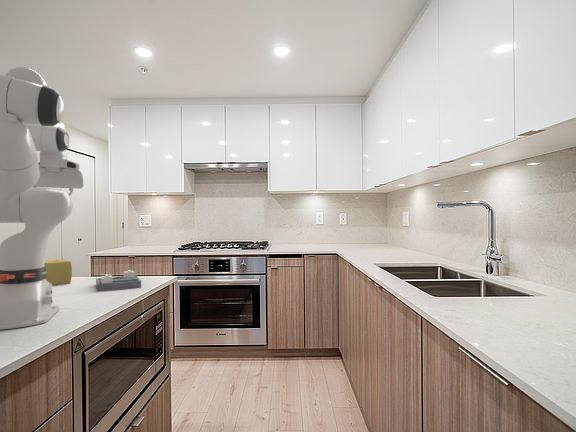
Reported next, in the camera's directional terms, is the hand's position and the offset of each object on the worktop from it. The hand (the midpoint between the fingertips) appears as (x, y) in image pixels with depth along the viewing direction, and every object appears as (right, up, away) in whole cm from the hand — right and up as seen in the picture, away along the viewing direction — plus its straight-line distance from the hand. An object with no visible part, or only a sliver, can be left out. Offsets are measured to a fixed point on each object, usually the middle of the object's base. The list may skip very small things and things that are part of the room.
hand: (53, 199), depth 135 cm
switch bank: (+19, -36, +14) cm, 43 cm away
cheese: (-11, -36, +18) cm, 42 cm away
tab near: (+17, -35, +8) cm, 39 cm away
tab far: (+21, -35, +20) cm, 45 cm away
